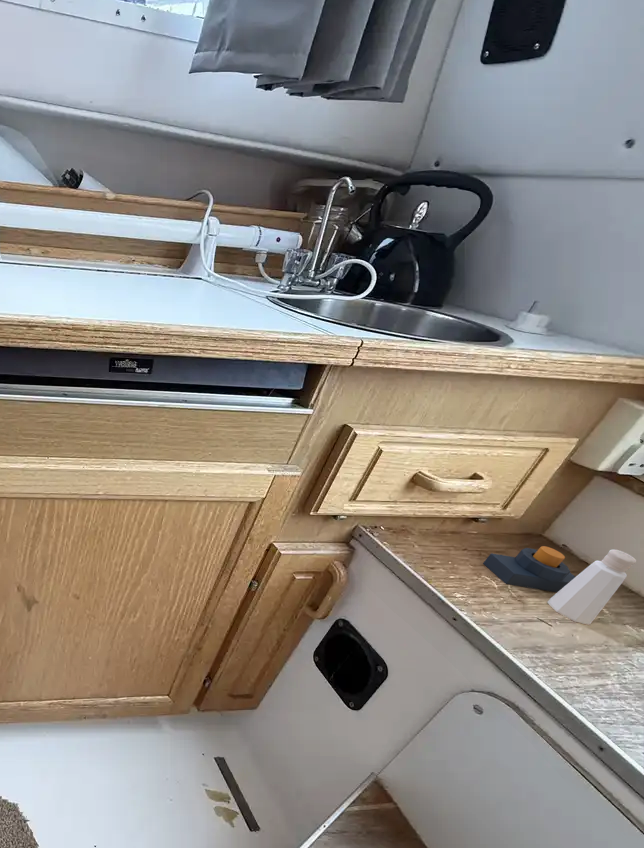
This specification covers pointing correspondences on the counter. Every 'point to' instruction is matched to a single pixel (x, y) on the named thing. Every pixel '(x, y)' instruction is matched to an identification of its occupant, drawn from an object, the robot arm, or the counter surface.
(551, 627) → the counter surface
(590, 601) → the salt shaker
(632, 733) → the counter surface
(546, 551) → the orange button cap
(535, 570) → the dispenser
